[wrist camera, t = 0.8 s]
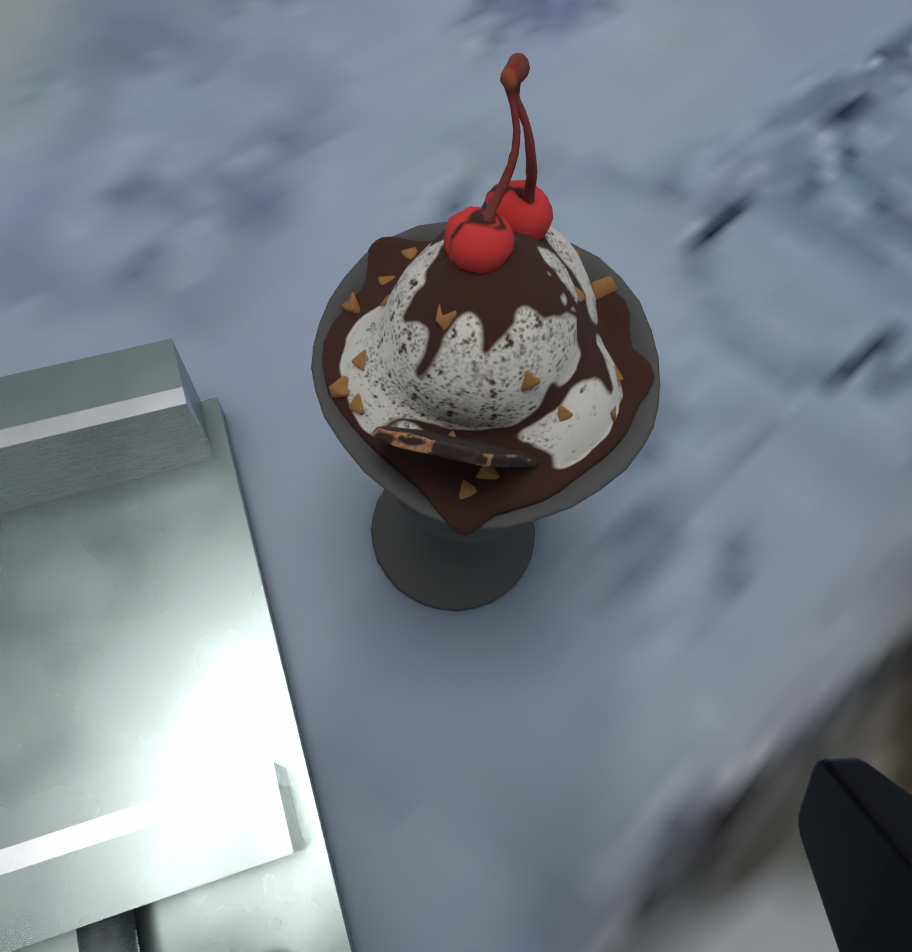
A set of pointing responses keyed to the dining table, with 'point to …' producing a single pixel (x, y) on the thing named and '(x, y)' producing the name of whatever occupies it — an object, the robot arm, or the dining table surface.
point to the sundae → (483, 383)
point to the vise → (144, 681)
